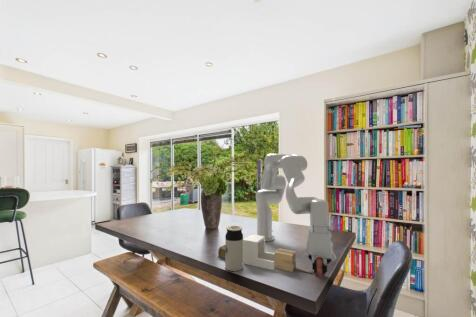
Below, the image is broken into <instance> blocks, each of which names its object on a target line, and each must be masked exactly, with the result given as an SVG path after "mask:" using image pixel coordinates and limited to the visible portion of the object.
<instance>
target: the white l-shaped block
mask: <svg viewBox="0 0 476 317" xmlns="http://www.w3.org/2000/svg"><path fill="white" fill-rule="evenodd" d="M245 264H246V265H249V266H252V267H253V266H254V267H257V268H262V269H266V270H270V271H274V270H275V252H270V251H266V241H265V236H259V235H257V234H254V233H253V234H250V235H248V236H247V237H246V238H243V265H245Z"/></svg>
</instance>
